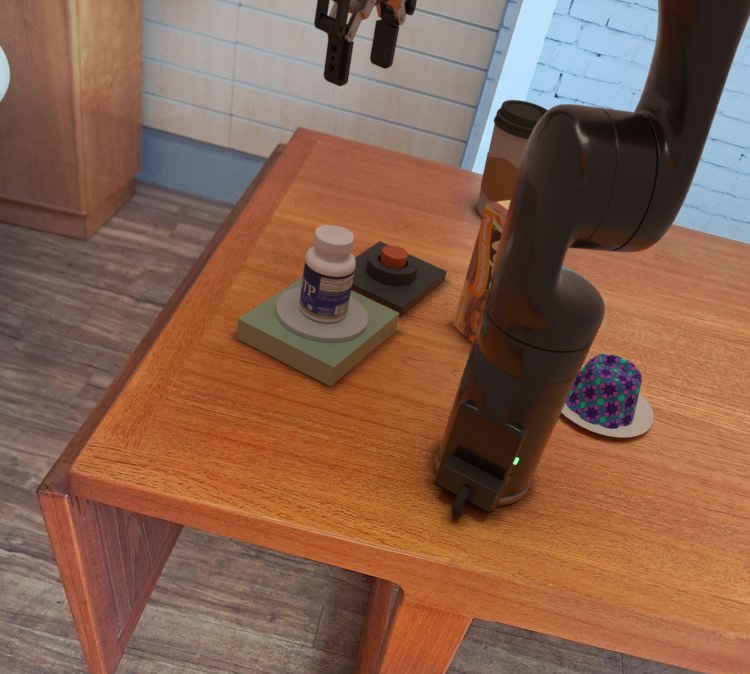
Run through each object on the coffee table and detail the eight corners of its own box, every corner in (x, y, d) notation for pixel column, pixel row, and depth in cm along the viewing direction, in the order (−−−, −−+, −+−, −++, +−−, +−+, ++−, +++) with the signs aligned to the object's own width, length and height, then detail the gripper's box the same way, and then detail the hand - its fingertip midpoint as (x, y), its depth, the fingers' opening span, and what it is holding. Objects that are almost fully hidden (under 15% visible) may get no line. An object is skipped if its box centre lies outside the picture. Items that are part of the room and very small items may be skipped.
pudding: (558, 360, 92) (574, 322, 88) (657, 398, 90) (677, 361, 86) (534, 415, 83) (551, 375, 80) (642, 457, 81) (664, 419, 78)
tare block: (400, 317, 92) (405, 295, 90) (329, 284, 94) (332, 261, 92) (444, 281, 100) (450, 259, 98) (377, 250, 102) (382, 229, 100)
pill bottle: (293, 296, 85) (303, 220, 79) (339, 296, 87) (352, 221, 81) (305, 324, 82) (316, 246, 76) (352, 324, 84) (367, 247, 77)
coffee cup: (531, 217, 119) (566, 114, 108) (509, 234, 113) (543, 128, 103) (484, 196, 121) (513, 94, 110) (459, 212, 115) (488, 105, 105)
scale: (330, 387, 80) (335, 362, 78) (236, 338, 83) (238, 313, 81) (395, 331, 90) (400, 308, 88) (308, 289, 93) (311, 266, 90)
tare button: (397, 273, 94) (400, 261, 93) (374, 262, 95) (377, 251, 94) (409, 263, 96) (412, 252, 95) (387, 253, 97) (390, 242, 96)
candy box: (523, 360, 90) (569, 237, 80) (495, 368, 88) (540, 242, 78) (476, 319, 95) (514, 197, 84) (449, 325, 93) (485, 201, 82)
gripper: (390, -127, 57) (354, 104, 68) (470, -131, 66) (426, 73, 78) (305, -155, 59) (283, 75, 70) (394, -155, 68) (362, 47, 80)
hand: (358, 73), depth 74 cm, fingers open, 8 cm apart
